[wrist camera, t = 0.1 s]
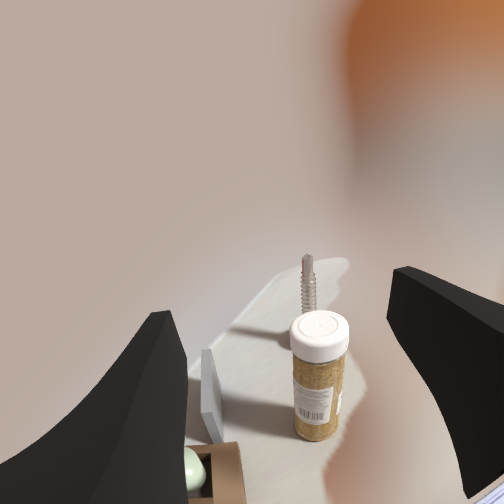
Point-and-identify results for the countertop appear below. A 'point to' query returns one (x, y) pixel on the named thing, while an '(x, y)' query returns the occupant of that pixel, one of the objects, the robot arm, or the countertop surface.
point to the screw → (308, 285)
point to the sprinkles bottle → (318, 371)
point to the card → (211, 398)
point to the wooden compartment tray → (220, 475)
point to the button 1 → (193, 470)
